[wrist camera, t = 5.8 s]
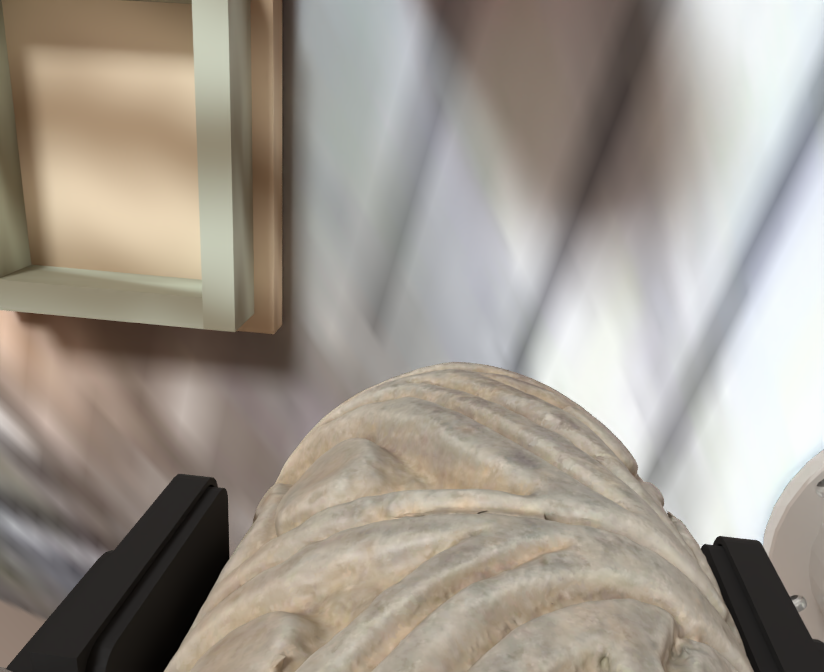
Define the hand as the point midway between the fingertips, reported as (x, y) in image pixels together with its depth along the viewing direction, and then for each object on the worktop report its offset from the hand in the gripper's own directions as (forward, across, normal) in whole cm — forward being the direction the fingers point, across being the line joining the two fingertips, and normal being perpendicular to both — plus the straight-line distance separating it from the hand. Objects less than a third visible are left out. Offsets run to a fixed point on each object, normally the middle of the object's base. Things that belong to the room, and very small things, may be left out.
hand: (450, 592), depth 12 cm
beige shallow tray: (+19, +14, -4) cm, 24 cm away
